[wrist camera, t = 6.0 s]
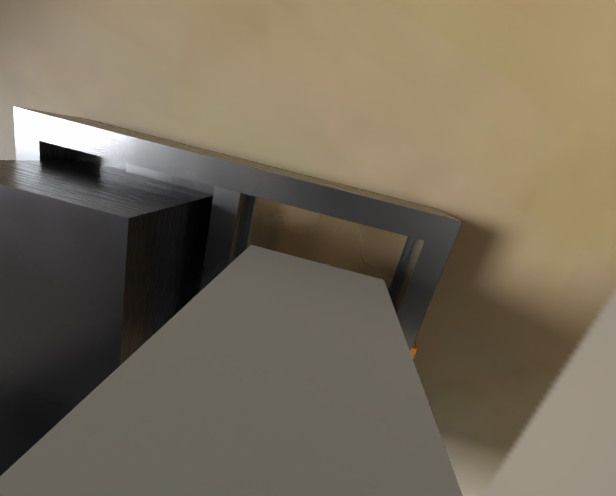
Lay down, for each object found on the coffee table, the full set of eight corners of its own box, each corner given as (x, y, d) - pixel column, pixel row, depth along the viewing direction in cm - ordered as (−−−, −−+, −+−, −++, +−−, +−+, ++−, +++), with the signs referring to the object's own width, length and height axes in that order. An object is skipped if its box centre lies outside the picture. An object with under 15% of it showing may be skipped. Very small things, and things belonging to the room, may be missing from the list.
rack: (352, 447, 14) (358, 620, 9) (77, 368, 15) (-75, 487, 9) (442, 210, 11) (540, 257, 5) (80, 117, 11) (-157, 77, 6)
